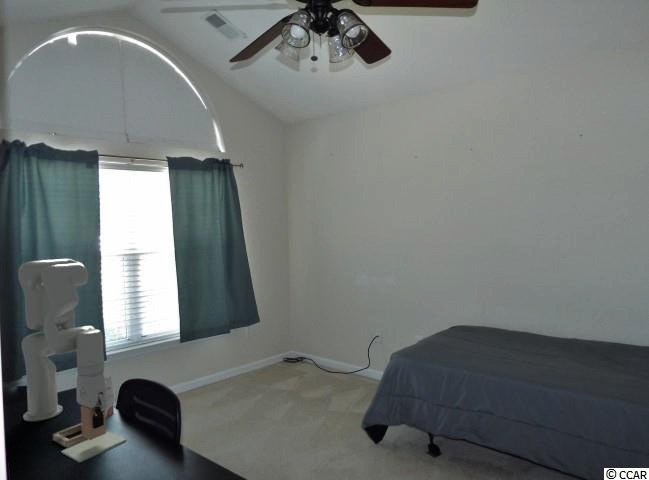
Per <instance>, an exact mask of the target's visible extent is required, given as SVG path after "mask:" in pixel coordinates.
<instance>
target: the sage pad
mask: <svg viewBox="0 0 649 480" xmlns="http://www.w3.org/2000/svg"><path fill="white" fill-rule="evenodd" d="M125 442H127V439H126V438H124V437H122V436H120V435H117V434H115V433H112V432H110V431H107V430H106V434H103V435H101V436H99V437H96V438H94V439H92V440H89V439H87V440H85V441H82V442H80V443H78V444H75V445H73V446H71V447H68V448H67V447H66V448H65V449H63V450H61V454H62V455H65V456H66V457H68V458H70V459H72V460H74V461H76V462H77V463H82V462H84V461H86V460H88V459H90V458H92V457H95V456H97V455H99V454H101V453H104V452H106V451H108V450H110V449H113V448H114V447H116V446H119V445H120V444H123V443H125Z"/></svg>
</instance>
